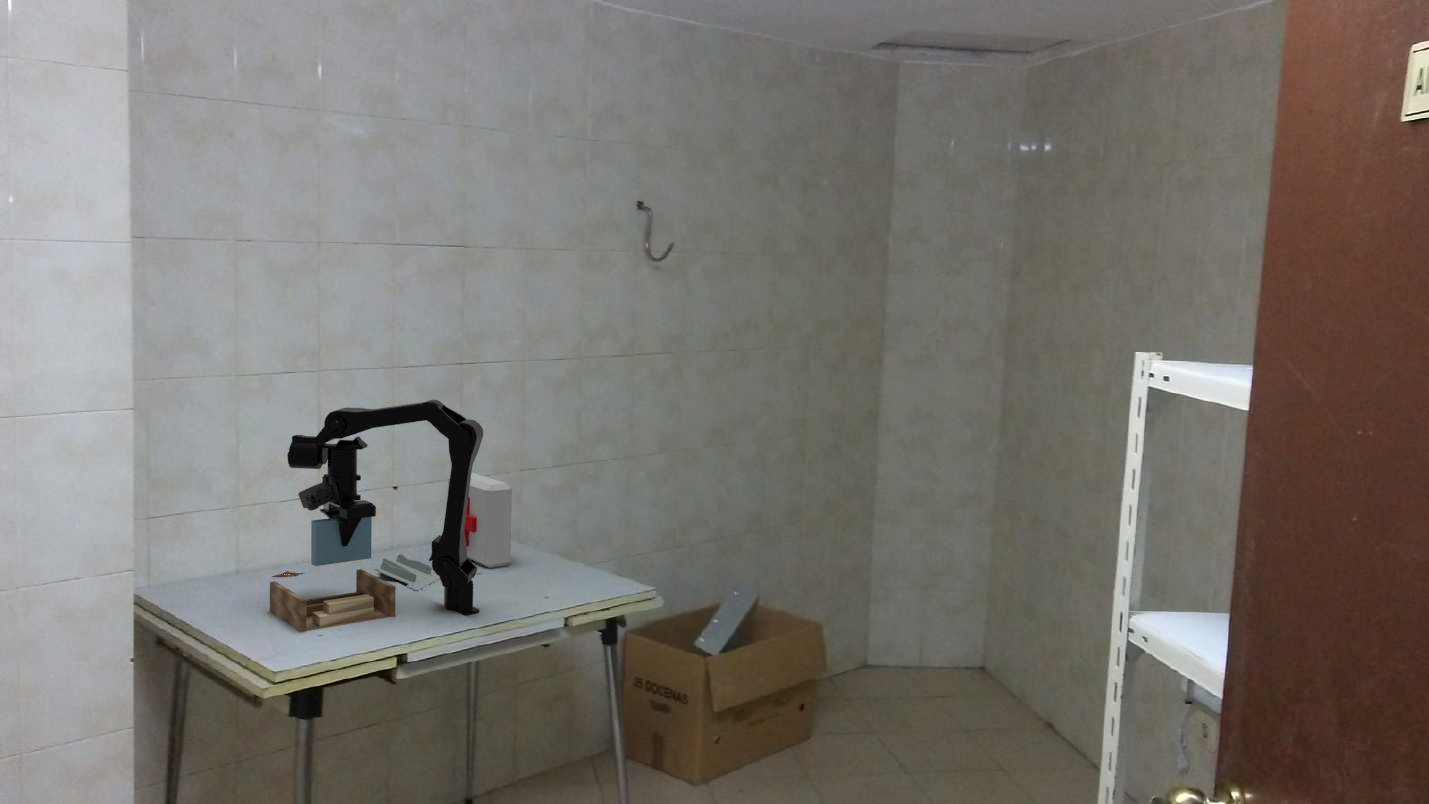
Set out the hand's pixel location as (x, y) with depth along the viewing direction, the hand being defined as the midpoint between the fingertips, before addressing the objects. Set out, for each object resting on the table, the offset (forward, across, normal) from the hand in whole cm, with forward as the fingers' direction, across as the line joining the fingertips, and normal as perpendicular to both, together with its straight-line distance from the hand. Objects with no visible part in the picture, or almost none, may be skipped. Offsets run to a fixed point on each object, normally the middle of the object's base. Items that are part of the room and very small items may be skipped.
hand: (342, 545), depth 240 cm
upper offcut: (+10, +12, -4) cm, 16 cm away
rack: (+13, +7, -5) cm, 15 cm away
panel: (+3, 0, 0) cm, 3 cm away
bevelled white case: (+13, -20, +43) cm, 50 cm away
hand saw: (+13, -26, -7) cm, 30 cm away
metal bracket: (+14, -11, +21) cm, 27 cm away
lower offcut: (+12, +12, -5) cm, 18 cm away
